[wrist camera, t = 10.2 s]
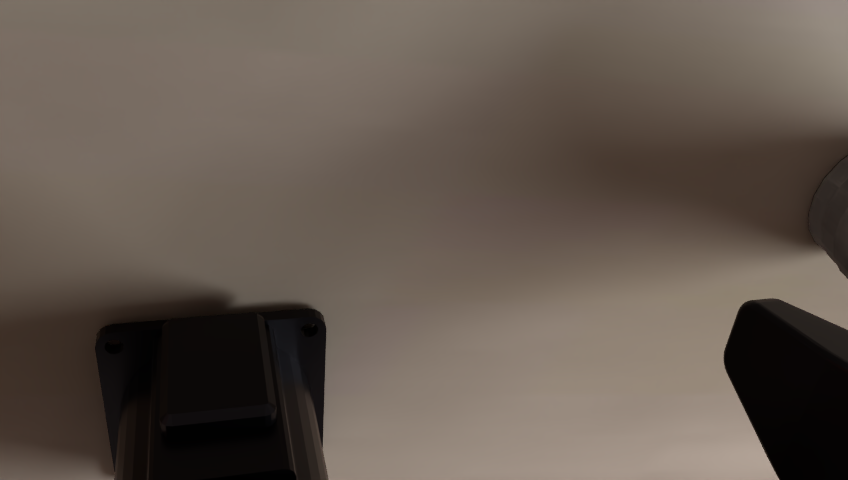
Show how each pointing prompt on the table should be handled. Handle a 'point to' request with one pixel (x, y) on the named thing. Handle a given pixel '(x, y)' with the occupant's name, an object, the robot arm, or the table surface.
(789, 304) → the robot arm
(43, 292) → the table surface
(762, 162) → the table surface
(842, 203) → the beverage cup
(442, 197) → the table surface
